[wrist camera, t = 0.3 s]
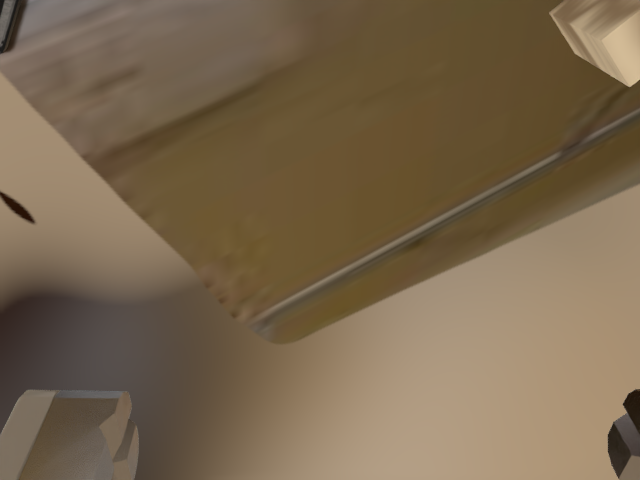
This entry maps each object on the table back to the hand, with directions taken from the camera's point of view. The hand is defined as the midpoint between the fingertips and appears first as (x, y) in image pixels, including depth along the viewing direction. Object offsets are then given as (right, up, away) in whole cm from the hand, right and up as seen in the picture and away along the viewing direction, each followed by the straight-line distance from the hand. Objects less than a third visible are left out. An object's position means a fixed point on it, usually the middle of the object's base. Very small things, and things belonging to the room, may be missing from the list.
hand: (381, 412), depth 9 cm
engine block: (+23, +23, +43) cm, 55 cm away
